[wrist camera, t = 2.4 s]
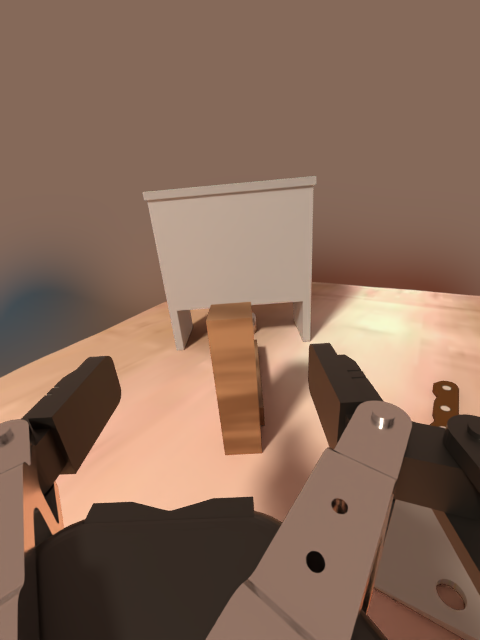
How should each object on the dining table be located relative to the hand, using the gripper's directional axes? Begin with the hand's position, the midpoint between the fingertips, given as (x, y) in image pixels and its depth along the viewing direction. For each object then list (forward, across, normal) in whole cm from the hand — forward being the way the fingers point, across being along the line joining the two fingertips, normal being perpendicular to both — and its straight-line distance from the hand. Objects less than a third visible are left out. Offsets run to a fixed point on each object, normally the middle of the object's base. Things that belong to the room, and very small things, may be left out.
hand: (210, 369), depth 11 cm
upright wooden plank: (+19, 0, +16) cm, 25 cm away
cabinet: (+36, 0, +16) cm, 39 cm away
